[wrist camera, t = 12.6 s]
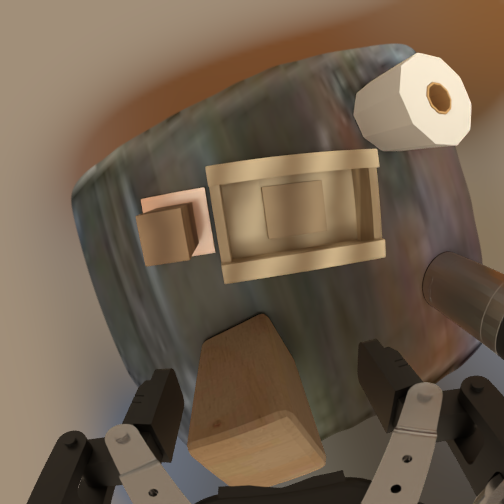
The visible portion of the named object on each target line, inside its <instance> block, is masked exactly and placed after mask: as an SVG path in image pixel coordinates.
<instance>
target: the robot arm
mask: <svg viewBox="0 0 504 504" xmlns="http://www.w3.org/2000/svg"><path fill="white" fill-rule="evenodd" d="M423 294H424V297H425V300H426V301H427V302H428V304H430V305H431V306H433V307H434V308H435V309H437V310H438V311H440V312H441V313H442V314H444V315H445V316H446V317H448V318H449V319H450V320H452V321H453V322H455V323H456V324H457V325H459V326H460V327H461V328H463V329H464V330H465V331H467V332H468V333H469V334H471V335H472V336H473V337H475V338H476V339H477V340H479V341H480V342H481V343H483V344H484V345H485V346H487V347H488V348H489V349H491V350H492V351H493V352H494V353H496V354H497V355H498V356H500V357H501V358H502V359H503V360H504V274H503V273H500V272H498V271H496V270H494V269H491V268H489V267H487V266H484V265H482V264H480V263H477V262H475V261H473V260H470V259H468V258H465V257H463V256H460V255H458V254H456V253H453V252H445V253H442V254H440V255H439V256H437V257H436V258H435V259H434V260H433V261H432V262H431V264H430V265H429V267H428V269H427V271H426V273H425V277H424V281H423ZM358 379H359V382H360V384H361V386H362V388H363V390H364V392H365V394H366V396H367V397H368V399H369V401H370V403H371V405H372V407H373V409H374V411H375V412H376V414H377V416H378V418H379V420H380V422H381V424H382V426H383V428H384V430H385V431H386V433H389V432H392V431H393V433H392V436H391V439H390V441H389V444H388V446H387V449H386V451H385V453H384V456H383V458H382V461H381V463H380V465H379V467H378V469H377V472H376V474H375V476H374V478H373V480H372V481H371V480H367V479H363V478H353V477H345V476H344V473H343V470H341V471H337V472H333V473H329V474H324V475H319V476H313V477H311V478H308V479H305V480H303V481H300V482H298V483H295V484H292V485H289V486H287V487H283V488H273V487H261V486H252V485H244V486H225V487H219V489H218V495H214V496H211V497H208V498H205V499H203V500H200V501H199V502H197V503H195V504H423V503H421V502H418V500H419V498H420V495H421V492H422V489H423V486H424V483H425V479H426V476H427V472H428V469H429V466H430V462H431V458H432V455H433V451H434V447H435V443H436V442H441V441H446V442H447V443H448V445H449V447H450V449H451V450H452V452H453V454H454V455H455V457H456V459H457V461H458V463H459V464H460V466H461V468H462V470H463V472H464V473H465V475H466V477H467V479H468V481H469V482H470V485H471V486H472V488H473V490H474V492H475V494H476V496H477V497H476V499H475V501H474V503H473V504H504V396H503V395H502V394H501V393H500V392H499V391H498V390H497V388H496V387H495V386H494V385H493V384H492V383H491V382H490V381H489V380H487V379H486V378H485V377H482V376H470V377H468V378H466V379H465V380H464V381H463V382H462V384H461V387H460V389H454V390H447V391H442V390H441V389H440V388H439V387H438V386H437V385H435V384H432V383H426V382H423V381H422V380H421V379H420V377H419V376H418V375H417V374H416V373H415V371H414V370H413V369H412V368H411V367H410V365H408V363H407V362H406V361H405V359H403V357H402V356H401V355H400V353H399V352H398V351H396V350H394V349H392V348H390V347H386V348H384V347H383V346H382V345H381V344H380V342H379V341H378V340H377V339H373V340H369V341H364V342H360V343H359V349H358ZM183 409H184V399H183V395H182V392H181V389H180V386H179V383H178V380H177V377H176V374H175V372H174V370H173V369H156V370H155V371H154V374H153V376H152V378H151V380H146V381H145V382H144V383H143V384H142V385H141V386H140V387H139V388H138V390H137V392H136V394H135V397H134V398H133V401H132V403H131V405H130V407H129V410H128V412H127V414H126V416H125V419H124V421H123V423H122V424H120V425H117V426H114V427H112V428H111V429H110V430H109V431H108V432H107V433H106V435H105V437H104V438H97V439H89V440H88V439H87V438H86V437H85V435H84V434H83V433H82V432H80V431H70V432H67V433H65V434H63V435H62V436H61V437H60V438H59V439H58V440H57V442H56V444H55V446H54V448H53V450H52V452H51V454H50V456H49V458H48V460H47V462H46V464H45V466H44V468H43V470H42V472H41V474H40V476H39V478H38V480H37V482H36V485H35V487H34V489H33V491H32V493H31V495H30V498H29V500H28V502H27V504H111V500H112V496H113V493H114V489H115V486H116V485H123V486H124V488H125V489H126V491H127V493H128V495H129V497H130V499H131V501H132V502H133V504H191V503H190V502H189V501H188V500H187V498H186V497H185V496H184V494H183V493H182V492H181V491H180V489H179V488H178V487H177V486H176V484H175V483H174V482H173V480H172V479H171V478H170V476H169V475H168V474H167V472H166V471H165V469H164V468H163V466H162V465H161V463H162V462H169V463H171V461H172V457H173V452H174V448H175V444H176V439H177V435H178V430H179V426H180V422H181V418H182V413H183ZM81 478H82V480H81ZM80 481H81V482H80ZM79 484H80V485H79ZM78 486H79V488H78Z"/></svg>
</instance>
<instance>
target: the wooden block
mask: <svg viewBox="0 0 504 504" xmlns="http://www.w3.org/2000/svg"><path fill="white" fill-rule="evenodd" d="M187 447H188V450H189V452H190V454H191V456H192V457H194V458H195V459H196V460H197V461H198V462H199V463H201V464H202V465H203V466H204V467H206V468H207V469H208V470H209V471H211V472H212V473H213V474H215V475H216V476H217V477H218V478H220V479H221V480H222V481H224V482H225V483H226V484H228V485H229V486H244V485H252V486H261V487H270V486H273V485H276V484H279V483H282V482H285V481H288V480H291V479H294V478H297V477H300V476H302V475H305V474H307V473H310V472H313V471H315V470H318V469H320V468H322V467H323V466H324V465H325V462H326V455H325V452H324V449H323V446H322V443H321V440H320V437H319V433H318V430H317V427H316V424H315V421H314V418H313V415H312V412H311V409H310V406H309V403H308V400H307V397H306V394H305V391H304V388H303V385H302V382H301V379H300V376H299V373H298V370H297V367H296V364H295V361H294V359H293V357H292V356H291V354H290V352H289V351H288V349H287V347H286V346H285V344H284V343H283V341H282V339H281V337H280V336H279V334H278V332H277V331H276V329H275V327H274V326H273V324H272V322H271V321H270V319H269V317H267V316H266V315H264V314H259V315H257V316H255V317H253V318H251V319H249V320H247V321H245V322H243V323H241V324H239V325H237V326H235V327H233V328H231V329H229V330H227V331H225V332H223V333H221V334H219V335H217V336H215V337H212V338H210V339H208V340H206V341H205V342H204V343H203V345H202V350H201V356H200V362H199V368H198V375H197V381H196V387H195V394H194V401H193V407H192V414H191V421H190V428H189V436H188V443H187Z"/></svg>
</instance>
